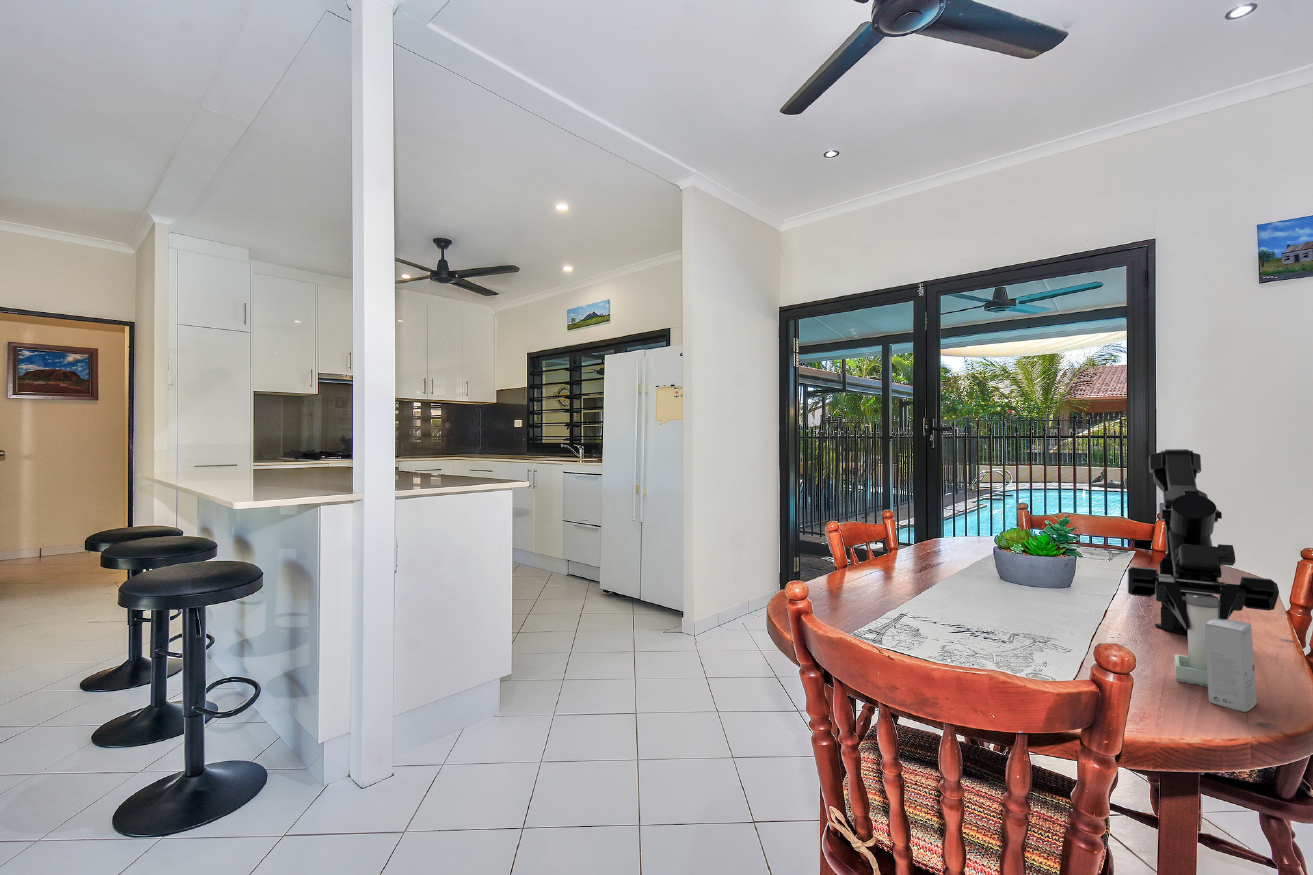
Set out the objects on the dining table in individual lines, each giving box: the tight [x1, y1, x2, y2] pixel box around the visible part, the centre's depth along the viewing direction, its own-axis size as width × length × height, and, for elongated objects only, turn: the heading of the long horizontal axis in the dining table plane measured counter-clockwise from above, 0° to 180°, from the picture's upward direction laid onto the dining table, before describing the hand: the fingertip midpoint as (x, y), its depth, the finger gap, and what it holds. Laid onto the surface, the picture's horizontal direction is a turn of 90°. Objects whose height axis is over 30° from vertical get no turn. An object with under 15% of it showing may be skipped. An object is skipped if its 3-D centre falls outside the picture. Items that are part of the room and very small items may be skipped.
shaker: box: [1186, 593, 1220, 671], centre depth 95 cm, size 4×4×12 cm
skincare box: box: [1205, 618, 1257, 713], centre depth 86 cm, size 6×4×12 cm
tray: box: [1174, 653, 1208, 688], centre depth 95 cm, size 7×7×2 cm
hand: (1204, 630), depth 94 cm, fingers closed on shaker, 4 cm apart
